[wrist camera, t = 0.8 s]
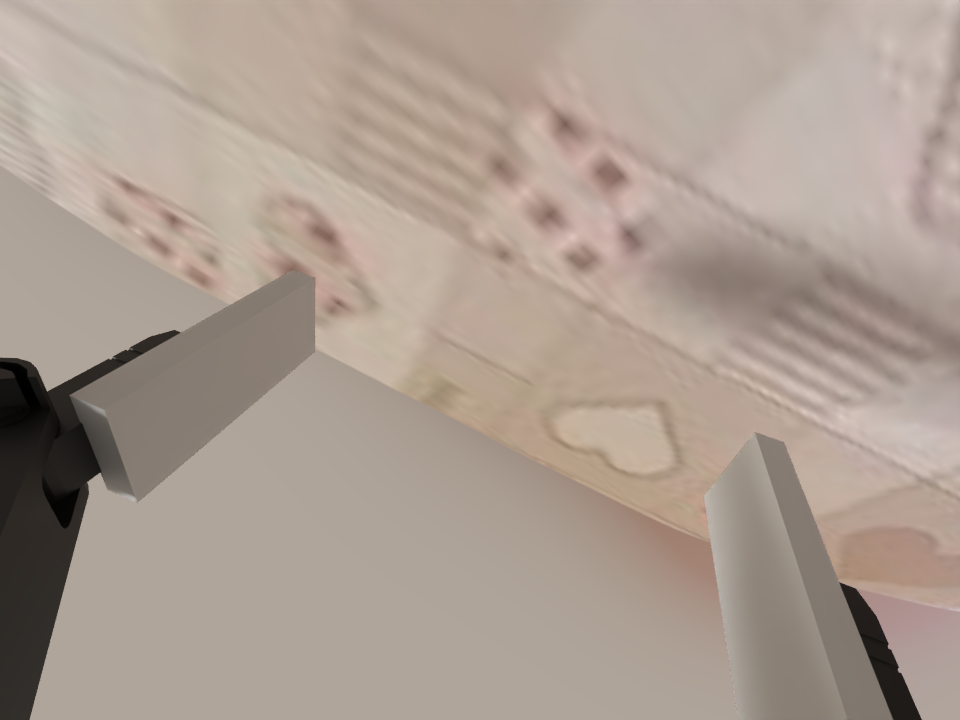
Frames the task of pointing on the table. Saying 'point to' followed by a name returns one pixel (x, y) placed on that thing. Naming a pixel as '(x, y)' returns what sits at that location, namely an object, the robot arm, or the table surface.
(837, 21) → the table surface
